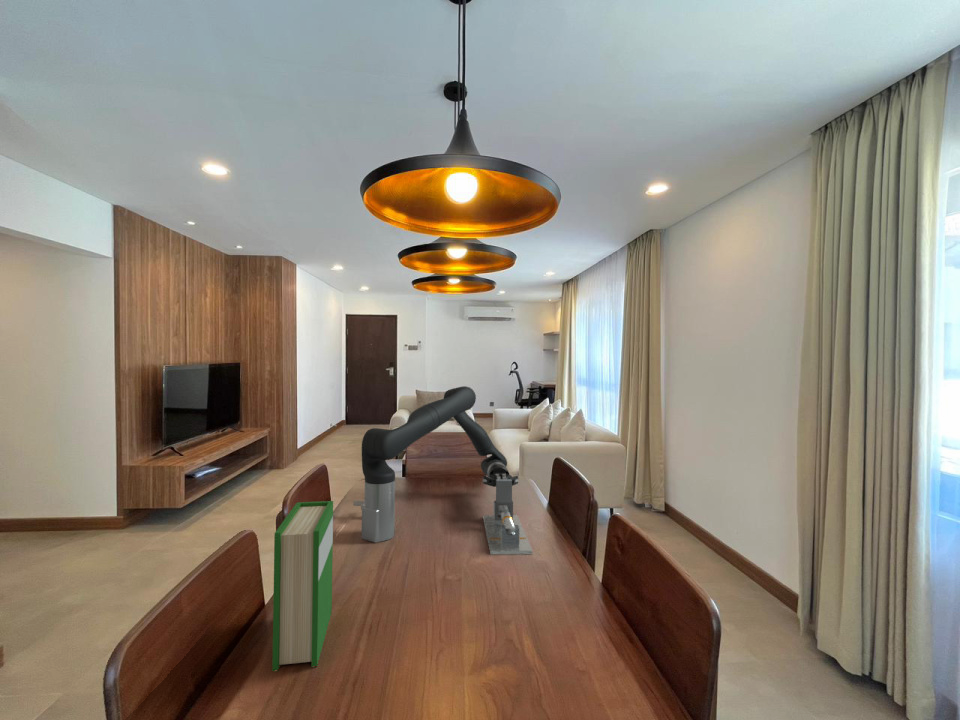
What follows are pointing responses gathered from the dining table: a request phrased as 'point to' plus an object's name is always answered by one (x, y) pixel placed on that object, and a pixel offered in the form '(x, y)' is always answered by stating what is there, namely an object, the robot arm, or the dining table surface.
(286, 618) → the hardback book
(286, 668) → the dining table surface
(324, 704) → the dining table surface
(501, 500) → the grey tall slab
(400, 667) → the dining table surface
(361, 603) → the dining table surface
